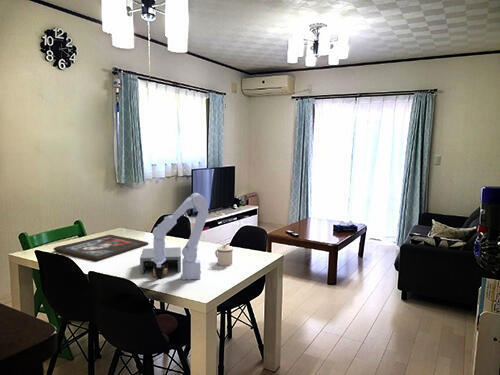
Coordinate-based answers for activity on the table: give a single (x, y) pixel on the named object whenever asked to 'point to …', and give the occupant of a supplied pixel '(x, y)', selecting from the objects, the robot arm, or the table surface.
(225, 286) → the table surface
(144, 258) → the grey low stand
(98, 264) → the table surface
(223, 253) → the teacup with lid
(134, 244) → the religious icon
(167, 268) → the teak tray
